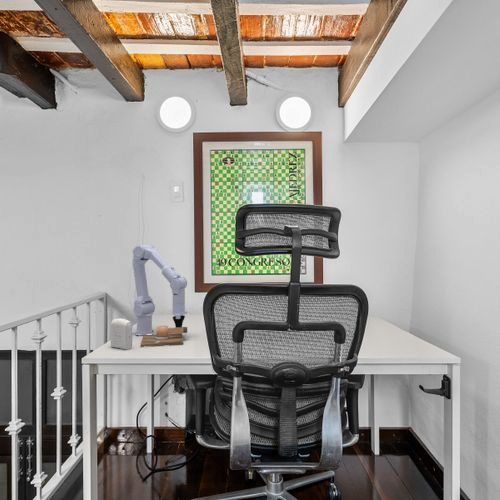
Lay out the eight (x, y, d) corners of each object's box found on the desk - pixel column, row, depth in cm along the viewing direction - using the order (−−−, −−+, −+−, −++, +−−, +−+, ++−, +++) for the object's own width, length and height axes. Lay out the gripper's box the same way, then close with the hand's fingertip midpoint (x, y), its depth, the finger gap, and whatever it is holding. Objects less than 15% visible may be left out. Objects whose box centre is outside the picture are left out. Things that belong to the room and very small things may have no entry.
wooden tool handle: (156, 337, 174) (156, 328, 173) (156, 334, 179) (156, 325, 179) (187, 335, 176) (187, 326, 176) (187, 333, 181) (187, 324, 181)
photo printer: (134, 347, 165) (133, 319, 165) (126, 350, 161) (126, 320, 161) (117, 345, 170) (116, 316, 170) (109, 347, 166) (109, 318, 166)
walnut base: (143, 337, 184) (143, 332, 184) (181, 335, 187) (181, 331, 187) (140, 347, 166) (140, 342, 166) (183, 344, 169) (183, 339, 169)
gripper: (186, 304, 176) (187, 334, 176) (187, 300, 190) (187, 327, 191) (171, 305, 175) (171, 335, 175) (173, 300, 189) (173, 328, 190)
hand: (178, 331), depth 183 cm, fingers closed
